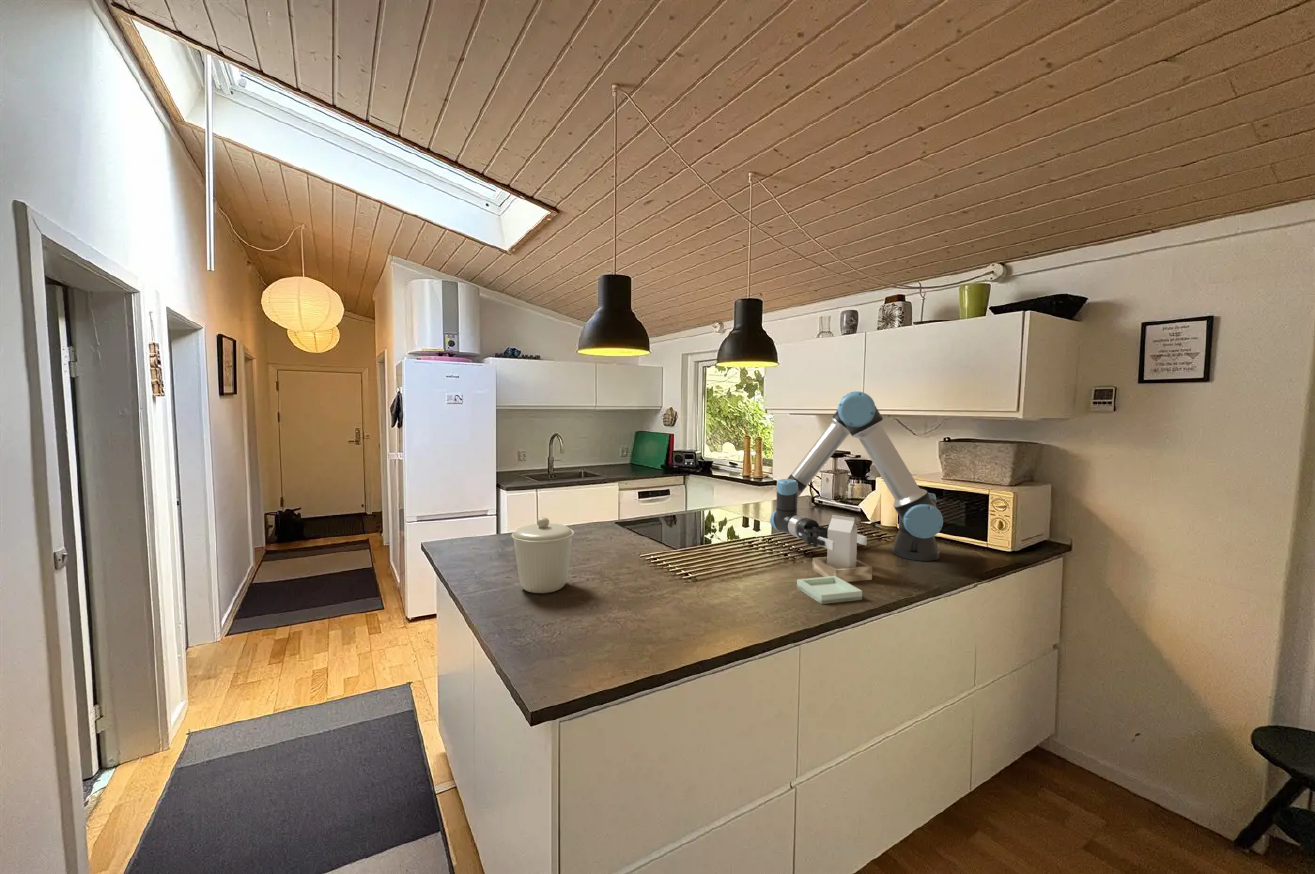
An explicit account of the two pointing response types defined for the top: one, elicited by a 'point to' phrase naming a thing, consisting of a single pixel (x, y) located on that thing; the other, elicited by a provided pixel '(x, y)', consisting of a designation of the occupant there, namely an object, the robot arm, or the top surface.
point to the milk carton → (842, 542)
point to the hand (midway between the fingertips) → (850, 543)
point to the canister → (543, 555)
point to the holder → (843, 570)
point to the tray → (829, 589)
